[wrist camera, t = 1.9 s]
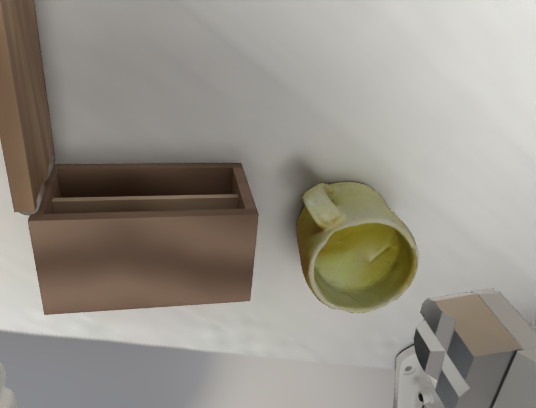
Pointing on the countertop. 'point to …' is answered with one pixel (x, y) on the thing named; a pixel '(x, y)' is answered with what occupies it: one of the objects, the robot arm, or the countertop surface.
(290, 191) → the countertop surface
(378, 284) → the mug
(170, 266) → the cabinet
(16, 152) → the door
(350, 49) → the countertop surface
